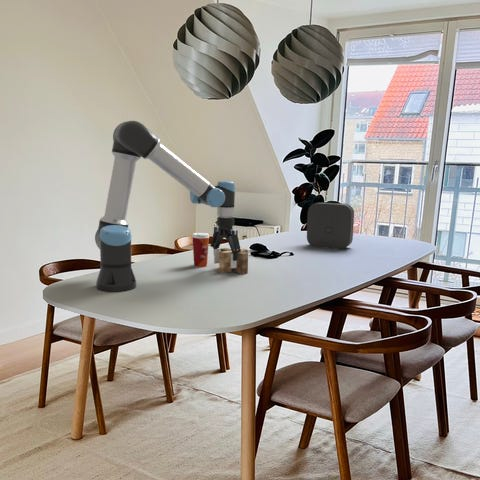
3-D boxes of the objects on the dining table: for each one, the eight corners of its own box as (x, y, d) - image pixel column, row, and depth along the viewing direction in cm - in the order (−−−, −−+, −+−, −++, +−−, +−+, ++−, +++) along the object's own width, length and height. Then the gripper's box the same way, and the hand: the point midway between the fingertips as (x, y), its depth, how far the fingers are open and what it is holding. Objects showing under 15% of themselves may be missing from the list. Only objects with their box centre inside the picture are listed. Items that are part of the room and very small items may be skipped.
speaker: (352, 247, 306) (354, 204, 302) (349, 250, 298) (351, 205, 294) (309, 244, 315) (311, 201, 311) (305, 246, 308) (307, 202, 303)
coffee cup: (206, 267, 247) (207, 235, 244) (189, 266, 248) (189, 234, 246) (211, 264, 255) (211, 232, 252) (194, 263, 256) (194, 232, 254)
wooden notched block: (247, 273, 237) (248, 253, 236) (242, 274, 236) (242, 253, 234) (225, 266, 249) (225, 247, 248) (220, 267, 248) (220, 248, 246)
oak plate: (223, 273, 237) (223, 253, 235) (219, 271, 239) (219, 251, 238) (247, 269, 246) (247, 249, 244) (243, 267, 248) (243, 248, 247)
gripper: (249, 218, 229) (248, 269, 232) (216, 213, 246) (215, 260, 250) (236, 220, 224) (235, 271, 228) (202, 214, 242) (202, 261, 245)
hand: (225, 265), depth 239 cm, fingers open, 11 cm apart
